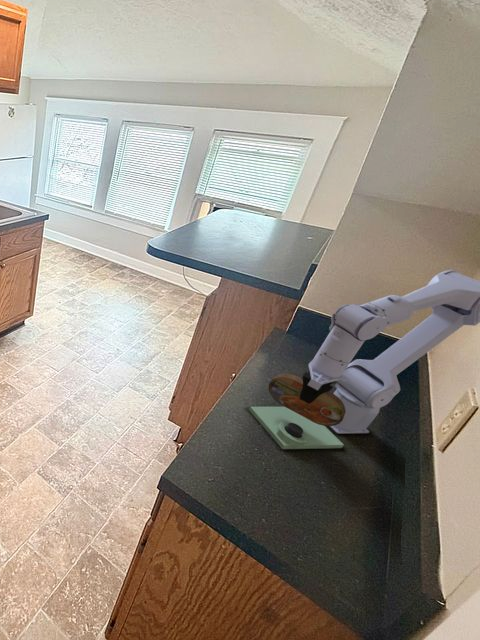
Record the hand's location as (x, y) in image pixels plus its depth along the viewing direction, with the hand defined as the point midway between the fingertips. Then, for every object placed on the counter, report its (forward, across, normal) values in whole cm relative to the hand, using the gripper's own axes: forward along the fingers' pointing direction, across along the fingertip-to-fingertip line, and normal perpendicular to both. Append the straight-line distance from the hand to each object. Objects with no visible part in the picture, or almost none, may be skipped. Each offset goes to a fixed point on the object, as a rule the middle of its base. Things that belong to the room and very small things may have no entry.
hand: (306, 398), depth 92 cm
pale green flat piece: (+9, 0, -1) cm, 9 cm away
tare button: (+7, -6, -1) cm, 9 cm away
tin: (+5, 0, 0) cm, 5 cm away
